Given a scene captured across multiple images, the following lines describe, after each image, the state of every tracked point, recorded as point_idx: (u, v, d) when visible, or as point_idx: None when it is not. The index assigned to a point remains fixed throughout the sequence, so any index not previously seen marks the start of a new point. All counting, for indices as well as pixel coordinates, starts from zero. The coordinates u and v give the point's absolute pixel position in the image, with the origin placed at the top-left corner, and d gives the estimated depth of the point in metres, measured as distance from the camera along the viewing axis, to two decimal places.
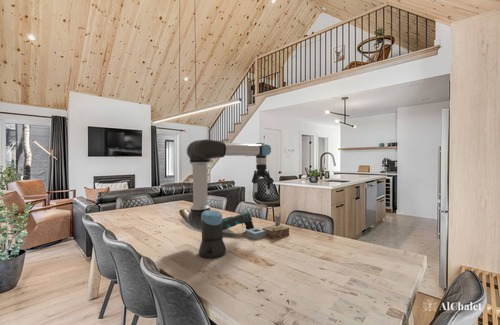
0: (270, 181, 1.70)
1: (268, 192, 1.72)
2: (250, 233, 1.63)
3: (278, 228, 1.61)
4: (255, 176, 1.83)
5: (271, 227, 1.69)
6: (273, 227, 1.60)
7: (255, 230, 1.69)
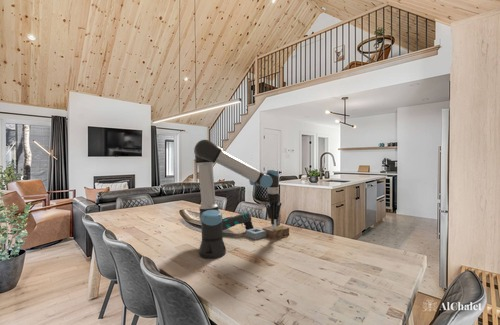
0: (269, 216, 1.58)
1: (273, 227, 1.59)
2: (250, 233, 1.63)
3: (279, 228, 1.62)
4: (277, 209, 1.62)
5: (271, 227, 1.69)
6: None
7: (255, 230, 1.69)
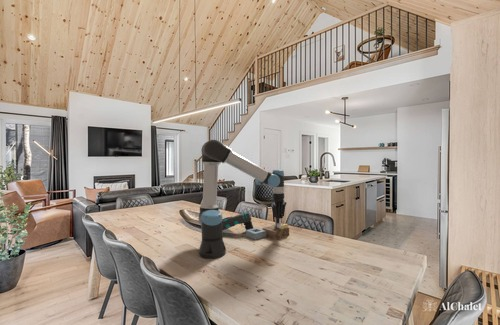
0: (274, 215, 1.61)
1: (278, 226, 1.63)
2: (250, 233, 1.63)
3: (284, 226, 1.65)
4: (282, 208, 1.65)
5: (271, 227, 1.69)
6: None
7: (255, 230, 1.69)
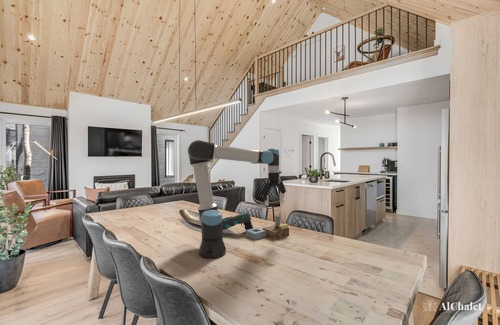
0: (263, 191, 1.55)
1: (266, 203, 1.56)
2: (250, 233, 1.63)
3: (284, 226, 1.65)
4: (281, 185, 1.65)
5: (271, 227, 1.69)
6: (279, 225, 1.64)
7: (255, 230, 1.69)
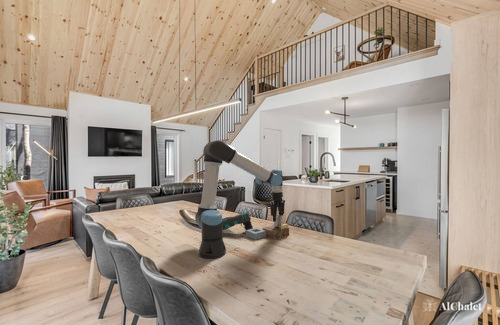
0: (271, 213, 1.66)
1: (275, 224, 1.68)
2: (250, 233, 1.63)
3: (284, 226, 1.65)
4: (282, 206, 1.72)
5: (271, 227, 1.69)
6: (279, 225, 1.64)
7: (255, 230, 1.69)
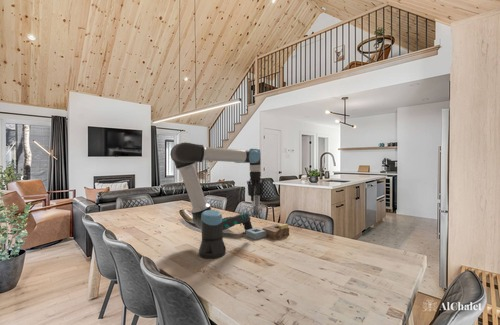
0: (249, 193, 1.62)
1: (253, 204, 1.64)
2: (250, 233, 1.63)
3: (284, 226, 1.65)
4: (260, 186, 1.68)
5: (271, 227, 1.69)
6: (279, 225, 1.64)
7: (255, 230, 1.69)
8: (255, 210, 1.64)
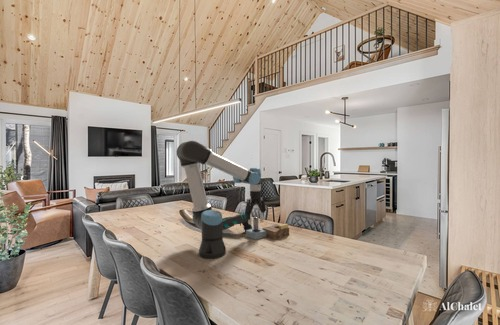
0: (246, 211, 1.61)
1: (249, 222, 1.62)
2: (250, 233, 1.63)
3: (284, 226, 1.65)
4: (262, 204, 1.70)
5: (271, 227, 1.69)
6: (279, 225, 1.64)
7: None
8: None
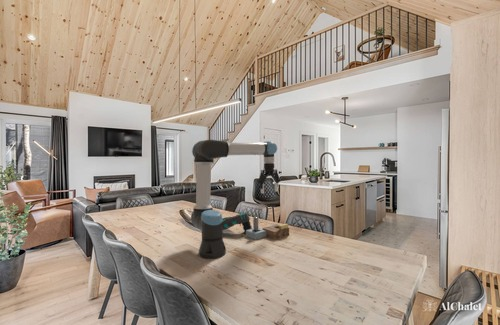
0: (259, 180, 1.69)
1: (262, 191, 1.71)
2: (250, 233, 1.63)
3: (284, 226, 1.65)
4: (276, 175, 1.79)
5: (271, 227, 1.69)
6: (279, 225, 1.64)
7: None
8: None
